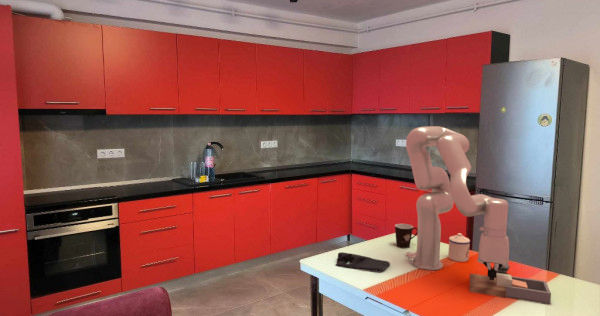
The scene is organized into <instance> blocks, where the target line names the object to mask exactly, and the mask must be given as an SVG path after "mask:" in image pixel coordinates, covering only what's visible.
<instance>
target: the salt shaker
mask: <svg viewBox="0 0 600 316" xmlns="http://www.w3.org/2000/svg"><path fill="white" fill-rule="evenodd" d="M510 268H511V267H510V265H509V266H504V267H501V268H499V269H498V270H497V273H501V274H508V273H507V272H508V271H509V270H510Z"/></svg>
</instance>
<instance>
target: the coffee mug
mask: <svg viewBox="0 0 600 316" xmlns="http://www.w3.org/2000/svg"><path fill="white" fill-rule="evenodd" d="M413 230H416V233H415V234H414V235H412V234H413ZM394 231H395V242H396V247H397V248H399V249H400V248H401V249H408V248H410V246H411V242H412V239H414V238H415V237H416V236H417V235H418V227H414V226H413V225H412V224H407V223H396V224H394Z"/></svg>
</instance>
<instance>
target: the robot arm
mask: <svg viewBox="0 0 600 316" xmlns="http://www.w3.org/2000/svg"><path fill="white" fill-rule="evenodd" d="M435 146H436V147H437V150H438V153H439V155H440V157H441V158H442V160H443V163H444V165H445V166H446V169H447V171H448V173H449V175H450V178H449V175H448V173H447V172H446V170H445V169H444V168H442V167H440V166H433V164H432V158H431V156H430V154H429V152H428V151H427V149H426V148H427V147H435ZM405 148H406V151H407V154H408V158H409V160H410V167H411V169H412V170H411V172H412V176H413V179H414V183H415V186H416V188H417V189H418V190H420V191H429V190H431V192H426V193H424V194H422V195H420V196H418V198H417V200H416V203H415V204H416V205H415V206H416V213H417V229H418V233H417V235H416V236H417V238H416V252H409V251H408V252H406V253H405V257H406V258H408V259H412V265H414V266H415V267H416V268H418V269H421V270H427V271H437V270H441V269H442V268H443V267H444V264H443V261H441V260H440V255H441V252H440V251H441V237H442V236H441V235H442V234H441V232H442V224H441V220H440V216H439V215H440V214H444V213H448V212H450V211H451V210H452V209H453V207H454V205H455V206H456V208H457V210H458V211H459V213H461V214H462V215H463V216H465V217H470V218H471V217H474V216H478V215H484V221H483V222H484V223H483V224H484V225H483V226H480V227H479V232H482V233H481V235H480V238H479V244H478V252H477V253H478V257H477V261H476V262H477V263H480V264H483V265H484V266H485V267H486V269H487V275H486V276H488V277H489V280H493V281H494V278H496V275H497V270H498V269H499V268H501V267H504V266H510V264H509V261H510V260H509V259H510V258H509V257H510V242H509V241H510V240H509V237H508V236H507V226H508V211H509V203H508V201H507V200H506V199H503V198H498V197H497V198H496V197H492V196H490V195H486V194H483V193H481V194H480V193H479V194H472V195H471V193H470V192H469V189H468V186H467V177H468V175H469V173H470V172H471V170H472V165H471V163H470V161H469V159H468V157H467V155H466V153H467V152H468V151H469V149H470V141H469V139H468V138H467V137H466V136H465V135H464V134H461V133H459V132H456V131H454V130H451V129H448V128H445V127H443V126H439V125H438V126H437V125H436V126H432V125H431V126H420V127H415V128H414V129H412V130H411V131H410V132H409V133H408V135H407V136H406V140H405ZM491 264H493V266H491Z"/></svg>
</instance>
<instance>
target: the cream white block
mask: <svg viewBox="0 0 600 316" xmlns="http://www.w3.org/2000/svg"><path fill="white" fill-rule="evenodd" d="M511 276H512V274H509V273H507V274H501V273H497V275H496V285H497V286H503V287H506V286H512V277H511Z"/></svg>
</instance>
